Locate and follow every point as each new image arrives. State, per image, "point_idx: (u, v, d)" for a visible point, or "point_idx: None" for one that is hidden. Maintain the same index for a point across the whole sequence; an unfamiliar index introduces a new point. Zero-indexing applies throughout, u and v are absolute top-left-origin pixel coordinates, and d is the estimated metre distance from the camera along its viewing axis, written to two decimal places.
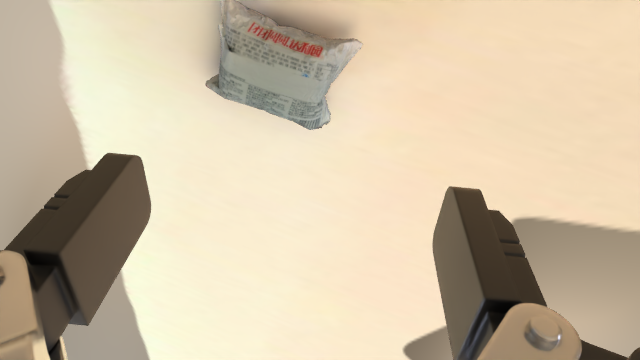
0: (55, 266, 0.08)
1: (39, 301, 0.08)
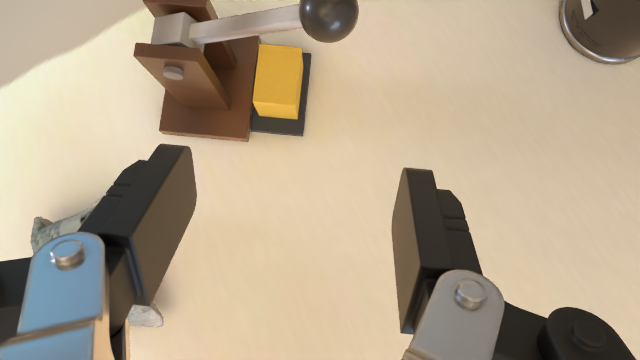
0: (126, 248, 0.09)
1: (114, 280, 0.08)
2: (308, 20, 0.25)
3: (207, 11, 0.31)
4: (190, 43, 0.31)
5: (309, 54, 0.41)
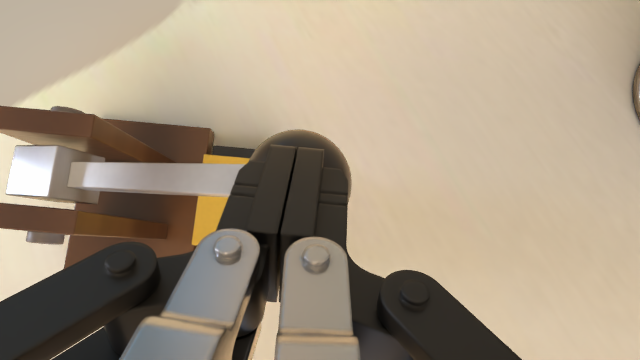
0: (269, 245, 0.09)
1: (263, 276, 0.09)
2: None
3: (97, 140, 0.19)
4: (71, 193, 0.19)
5: None
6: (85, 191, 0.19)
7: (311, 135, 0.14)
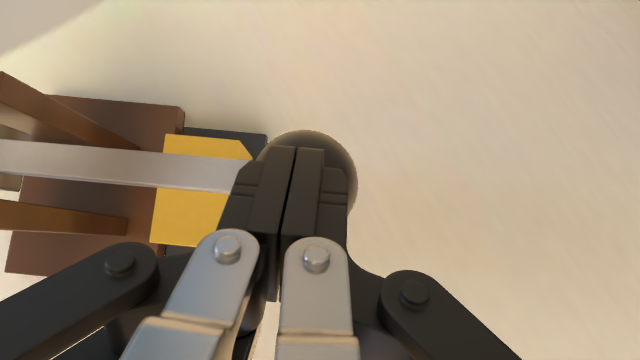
0: (269, 245, 0.09)
1: (263, 276, 0.09)
2: None
3: (10, 105, 0.14)
4: None
5: (263, 136, 0.25)
6: (8, 175, 0.16)
7: (328, 138, 0.14)
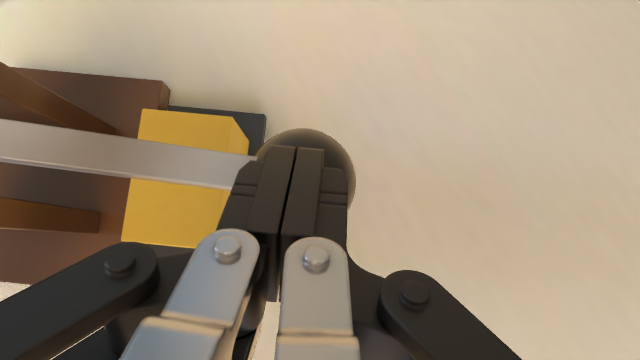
0: (269, 245, 0.09)
1: (263, 276, 0.09)
2: None
3: None
4: None
5: (261, 116, 0.21)
6: None
7: (333, 139, 0.14)
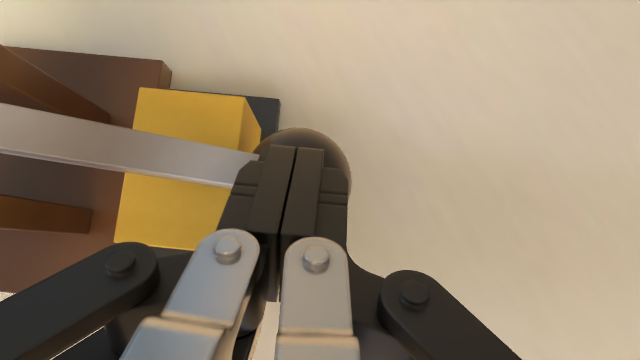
0: (269, 245, 0.09)
1: (263, 276, 0.09)
2: None
3: None
4: None
5: (275, 101, 0.19)
6: None
7: None
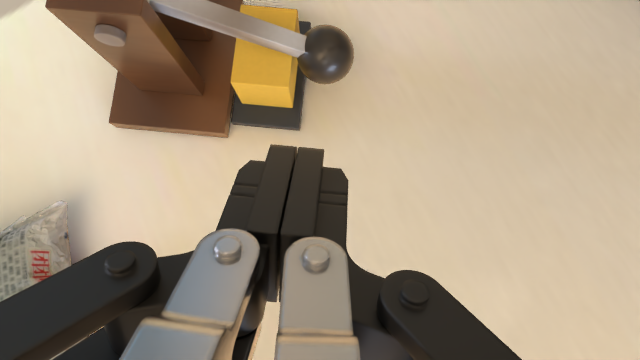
0: (269, 245, 0.09)
1: (263, 276, 0.09)
2: (325, 63, 0.26)
3: None
4: None
5: (308, 23, 0.32)
6: None
7: (343, 32, 0.28)
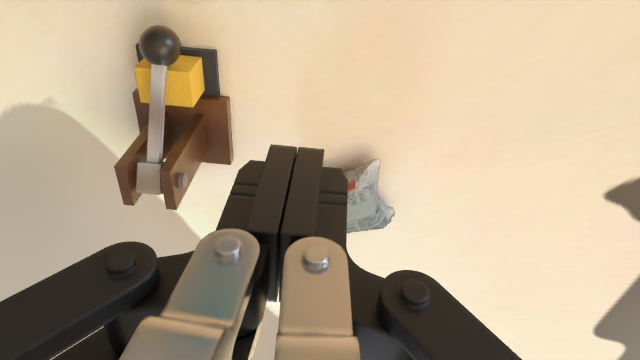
0: (269, 245, 0.09)
1: (263, 276, 0.09)
2: (167, 51, 0.39)
3: (127, 163, 0.39)
4: (161, 163, 0.41)
5: (136, 46, 0.44)
6: (162, 162, 0.41)
7: (141, 35, 0.39)
